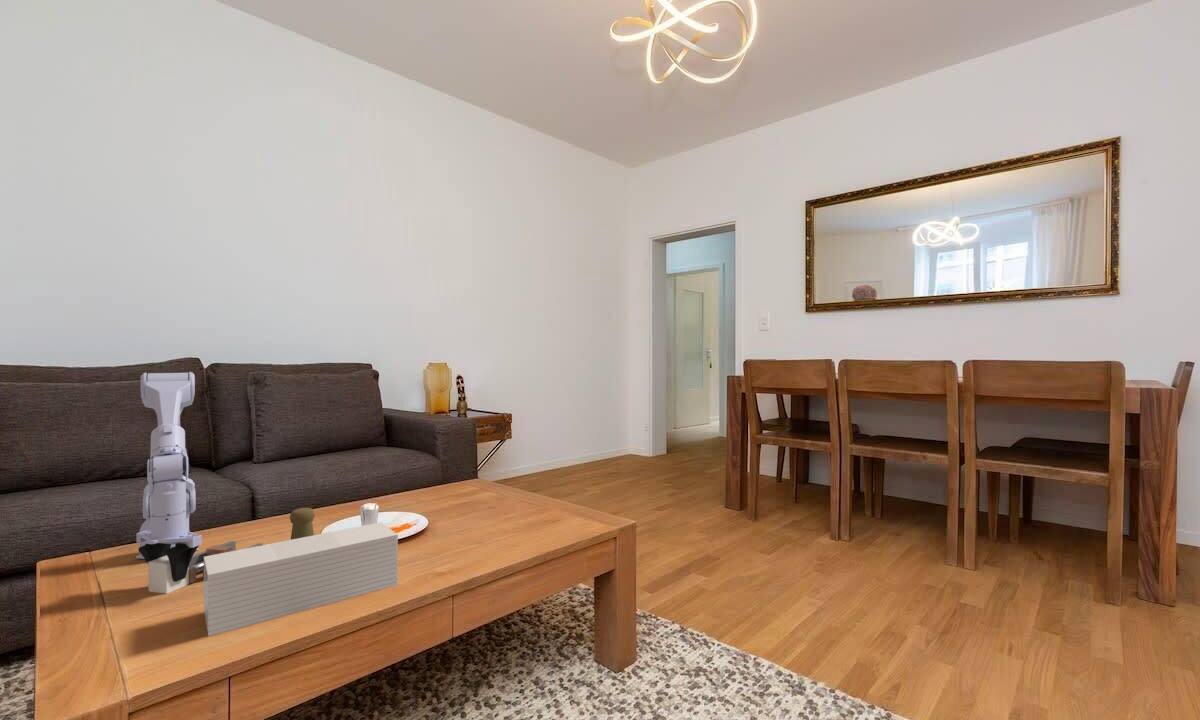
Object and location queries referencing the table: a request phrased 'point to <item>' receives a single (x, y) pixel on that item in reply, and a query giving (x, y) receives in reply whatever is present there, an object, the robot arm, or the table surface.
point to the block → (163, 576)
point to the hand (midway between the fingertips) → (169, 578)
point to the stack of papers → (297, 575)
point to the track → (200, 556)
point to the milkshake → (369, 513)
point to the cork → (302, 523)
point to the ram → (199, 566)
